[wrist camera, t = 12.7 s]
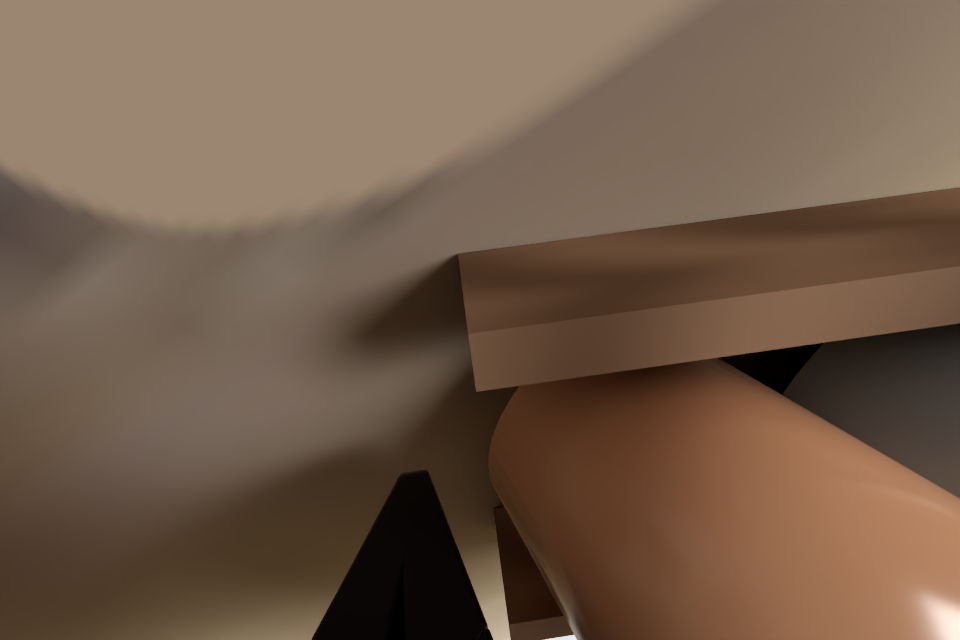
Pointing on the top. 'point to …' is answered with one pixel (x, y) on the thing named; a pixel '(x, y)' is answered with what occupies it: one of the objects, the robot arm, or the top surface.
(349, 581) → the robot arm
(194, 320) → the top surface
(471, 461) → the top surface
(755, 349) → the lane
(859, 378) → the slate jar
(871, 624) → the terracotta jar
